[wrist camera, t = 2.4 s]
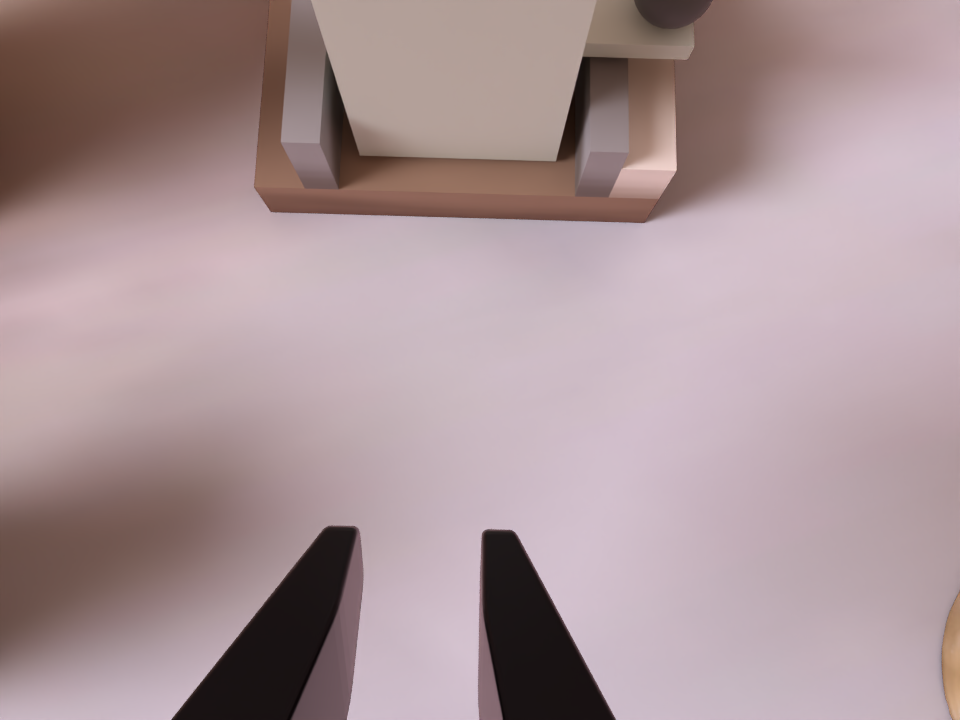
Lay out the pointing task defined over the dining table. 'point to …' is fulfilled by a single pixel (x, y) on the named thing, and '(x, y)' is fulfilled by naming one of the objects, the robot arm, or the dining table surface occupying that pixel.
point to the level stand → (451, 181)
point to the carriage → (483, 67)
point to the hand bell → (952, 660)
